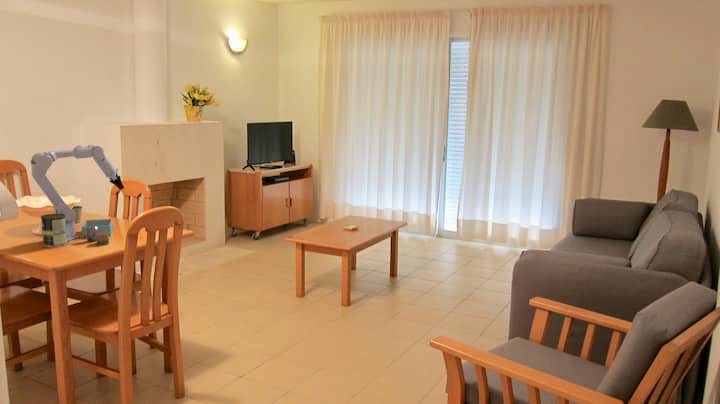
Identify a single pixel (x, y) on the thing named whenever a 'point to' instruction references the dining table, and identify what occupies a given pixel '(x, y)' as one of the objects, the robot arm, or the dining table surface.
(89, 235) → the grey cylinder
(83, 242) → the dining table surface
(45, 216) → the coffee can
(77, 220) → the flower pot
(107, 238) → the walnut cube
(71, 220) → the robot arm
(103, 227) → the tote
